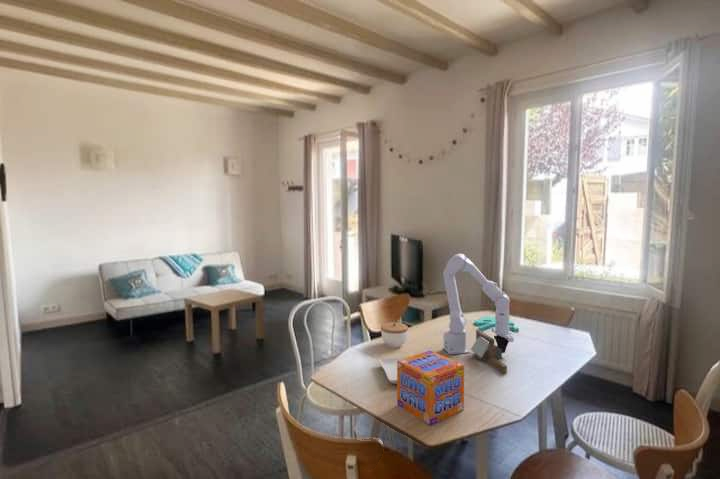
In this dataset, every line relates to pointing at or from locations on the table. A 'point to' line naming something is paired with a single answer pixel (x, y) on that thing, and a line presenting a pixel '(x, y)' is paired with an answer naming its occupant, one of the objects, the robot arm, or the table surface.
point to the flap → (480, 347)
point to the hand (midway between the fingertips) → (502, 352)
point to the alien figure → (492, 324)
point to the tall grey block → (486, 355)
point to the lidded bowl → (394, 334)
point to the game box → (430, 386)
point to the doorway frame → (492, 352)
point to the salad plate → (390, 367)
